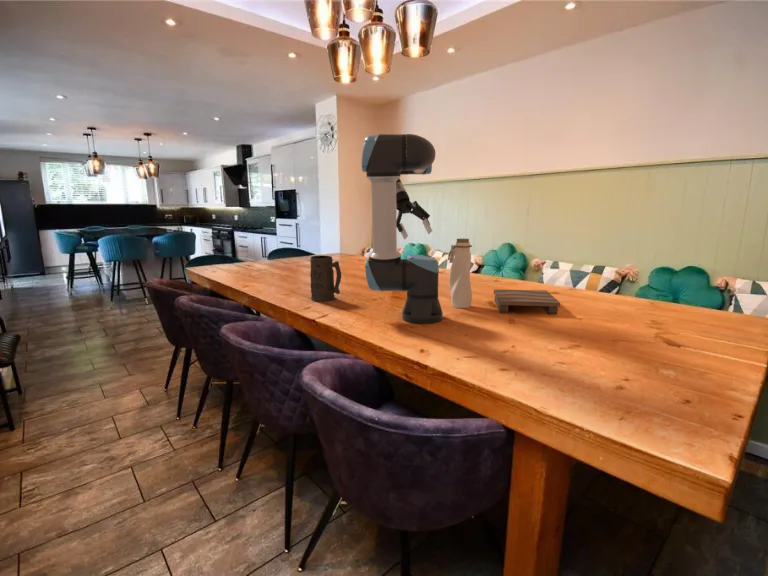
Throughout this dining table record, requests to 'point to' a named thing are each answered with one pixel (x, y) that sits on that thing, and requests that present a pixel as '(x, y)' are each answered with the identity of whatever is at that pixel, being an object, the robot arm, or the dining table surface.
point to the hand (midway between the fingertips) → (418, 235)
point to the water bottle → (460, 274)
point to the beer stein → (324, 278)
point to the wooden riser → (526, 299)
